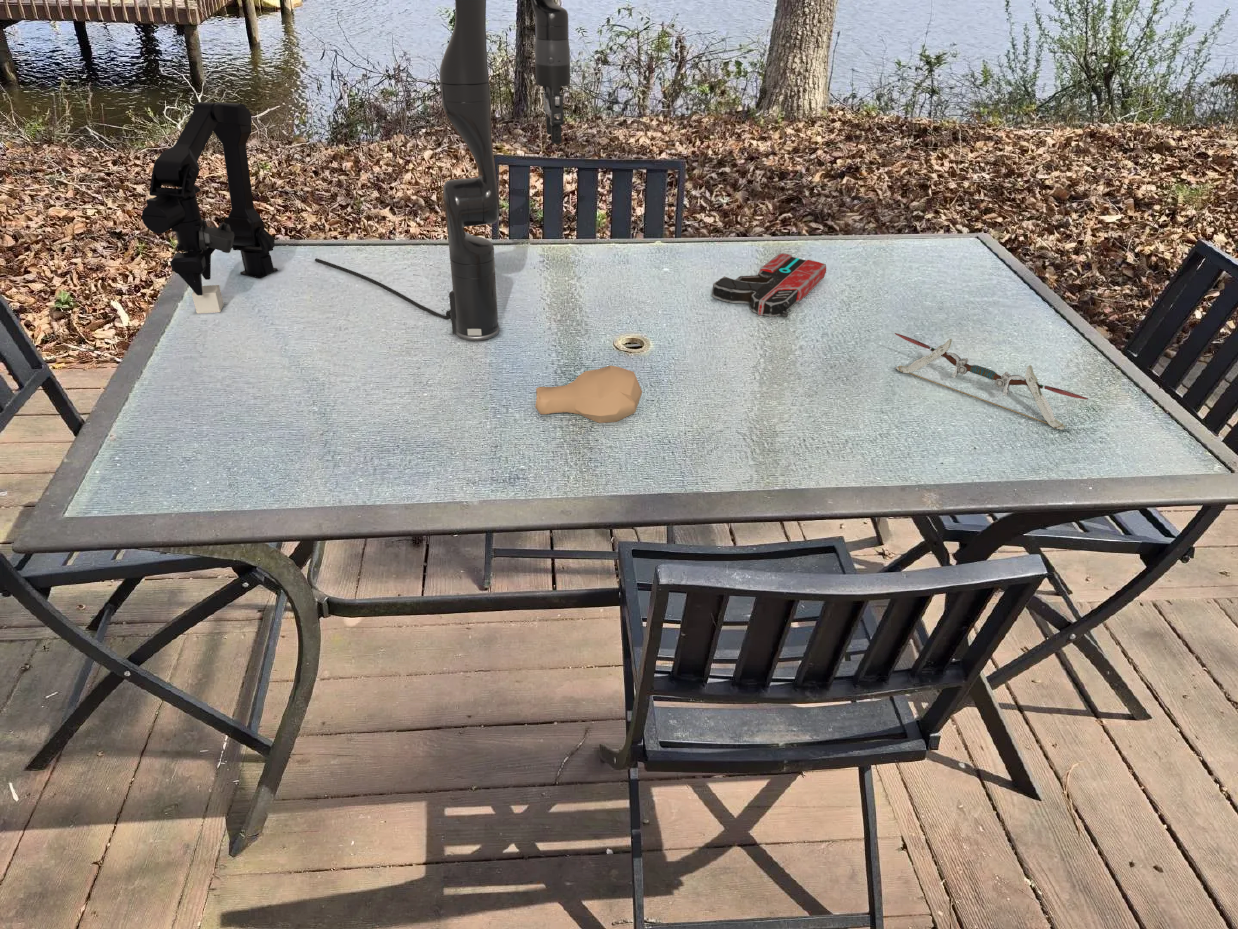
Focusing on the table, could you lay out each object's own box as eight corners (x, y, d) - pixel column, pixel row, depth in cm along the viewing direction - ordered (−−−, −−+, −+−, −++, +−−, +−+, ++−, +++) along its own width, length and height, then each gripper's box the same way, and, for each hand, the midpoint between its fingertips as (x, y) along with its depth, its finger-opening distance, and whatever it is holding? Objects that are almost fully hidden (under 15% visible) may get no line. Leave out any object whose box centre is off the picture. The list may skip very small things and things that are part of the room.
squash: (644, 429, 161) (640, 391, 154) (537, 437, 162) (528, 400, 156) (643, 392, 168) (639, 354, 162) (541, 400, 170) (533, 363, 164)
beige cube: (220, 312, 198) (215, 292, 195) (196, 313, 197) (191, 293, 195) (224, 304, 202) (219, 284, 199) (200, 305, 201) (195, 285, 198)
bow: (1077, 432, 163) (1095, 385, 158) (1074, 436, 162) (1091, 388, 156) (889, 364, 184) (899, 320, 179) (885, 367, 183) (895, 323, 178)
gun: (708, 284, 207) (784, 305, 199) (760, 245, 229) (831, 262, 221) (706, 302, 209) (781, 323, 201) (758, 261, 231) (828, 278, 223)
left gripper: (218, 231, 181) (235, 301, 190) (233, 203, 197) (248, 270, 205) (161, 233, 180) (180, 304, 188) (180, 205, 195) (197, 272, 203)
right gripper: (574, 66, 185) (575, 146, 194) (565, 55, 196) (565, 130, 205) (539, 67, 183) (541, 147, 192) (531, 55, 195) (533, 131, 204)
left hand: (204, 287), depth 196 cm, fingers open, 9 cm apart
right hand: (553, 138), depth 199 cm, fingers open, 8 cm apart
